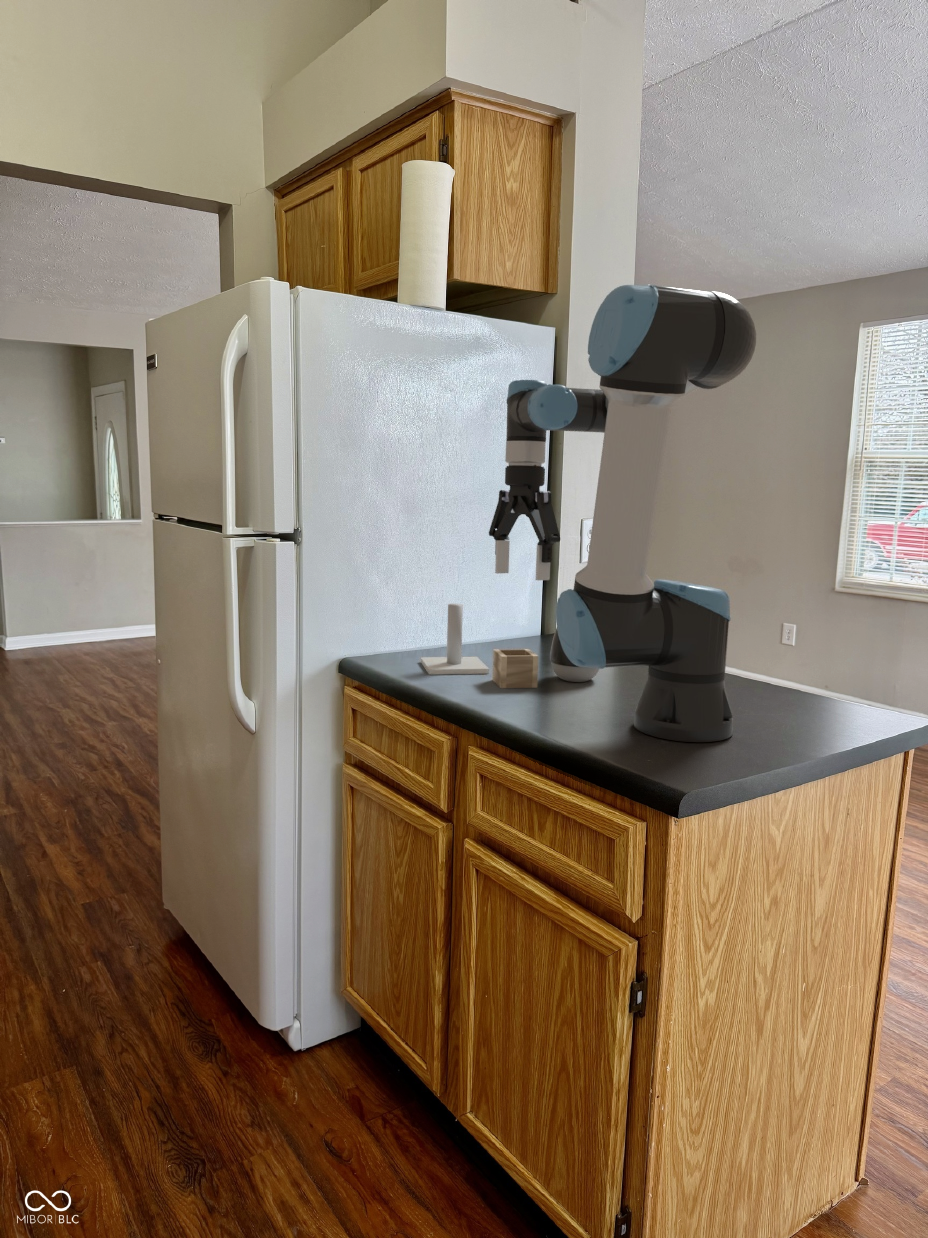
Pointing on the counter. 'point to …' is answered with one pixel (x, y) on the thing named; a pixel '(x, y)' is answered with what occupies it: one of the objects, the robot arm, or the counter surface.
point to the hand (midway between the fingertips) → (521, 576)
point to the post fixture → (454, 650)
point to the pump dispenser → (568, 664)
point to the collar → (515, 668)
